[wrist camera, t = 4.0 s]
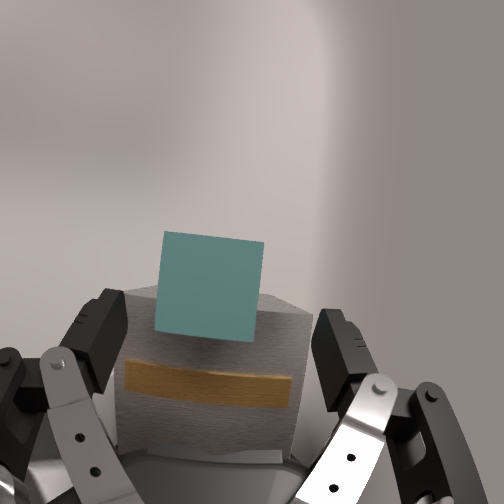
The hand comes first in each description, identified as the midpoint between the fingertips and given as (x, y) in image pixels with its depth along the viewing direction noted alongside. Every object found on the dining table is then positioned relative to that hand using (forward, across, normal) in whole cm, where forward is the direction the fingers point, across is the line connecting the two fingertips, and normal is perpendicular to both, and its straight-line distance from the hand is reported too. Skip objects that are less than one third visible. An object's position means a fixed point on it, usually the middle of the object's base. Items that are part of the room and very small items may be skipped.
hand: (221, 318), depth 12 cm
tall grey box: (-1, -1, -37) cm, 37 cm away
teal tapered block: (+10, 0, -6) cm, 12 cm away
